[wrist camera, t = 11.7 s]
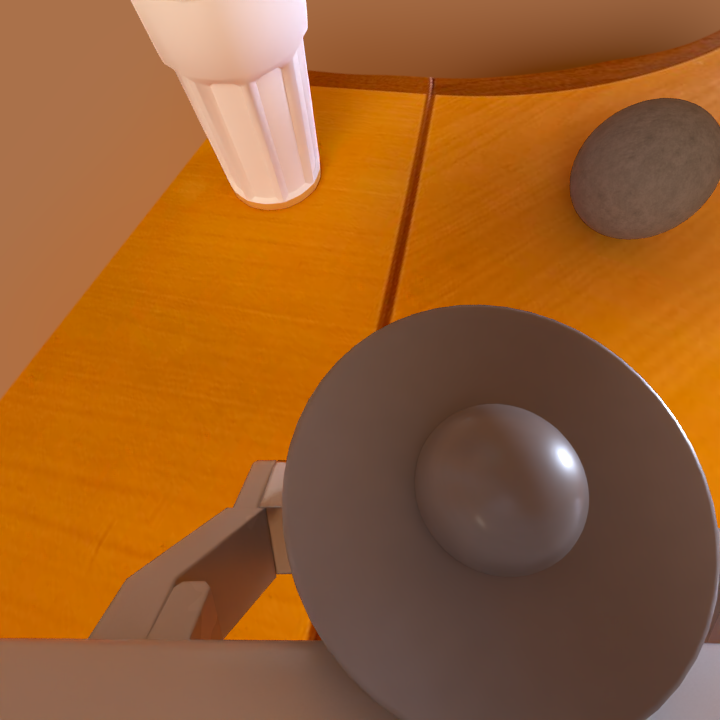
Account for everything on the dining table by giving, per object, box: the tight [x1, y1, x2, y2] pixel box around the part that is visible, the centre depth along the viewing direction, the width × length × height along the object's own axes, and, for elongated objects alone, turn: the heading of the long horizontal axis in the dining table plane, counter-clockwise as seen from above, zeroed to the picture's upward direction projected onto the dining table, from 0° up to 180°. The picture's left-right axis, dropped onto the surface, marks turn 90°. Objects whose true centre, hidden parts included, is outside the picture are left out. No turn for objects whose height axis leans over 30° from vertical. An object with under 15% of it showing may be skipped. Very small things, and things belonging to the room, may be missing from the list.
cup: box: [131, 0, 321, 210], centre depth 33 cm, size 11×11×17 cm
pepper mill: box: [282, 305, 720, 720], centre depth 10 cm, size 5×5×14 cm
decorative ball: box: [570, 98, 720, 239], centre depth 32 cm, size 10×10×10 cm
